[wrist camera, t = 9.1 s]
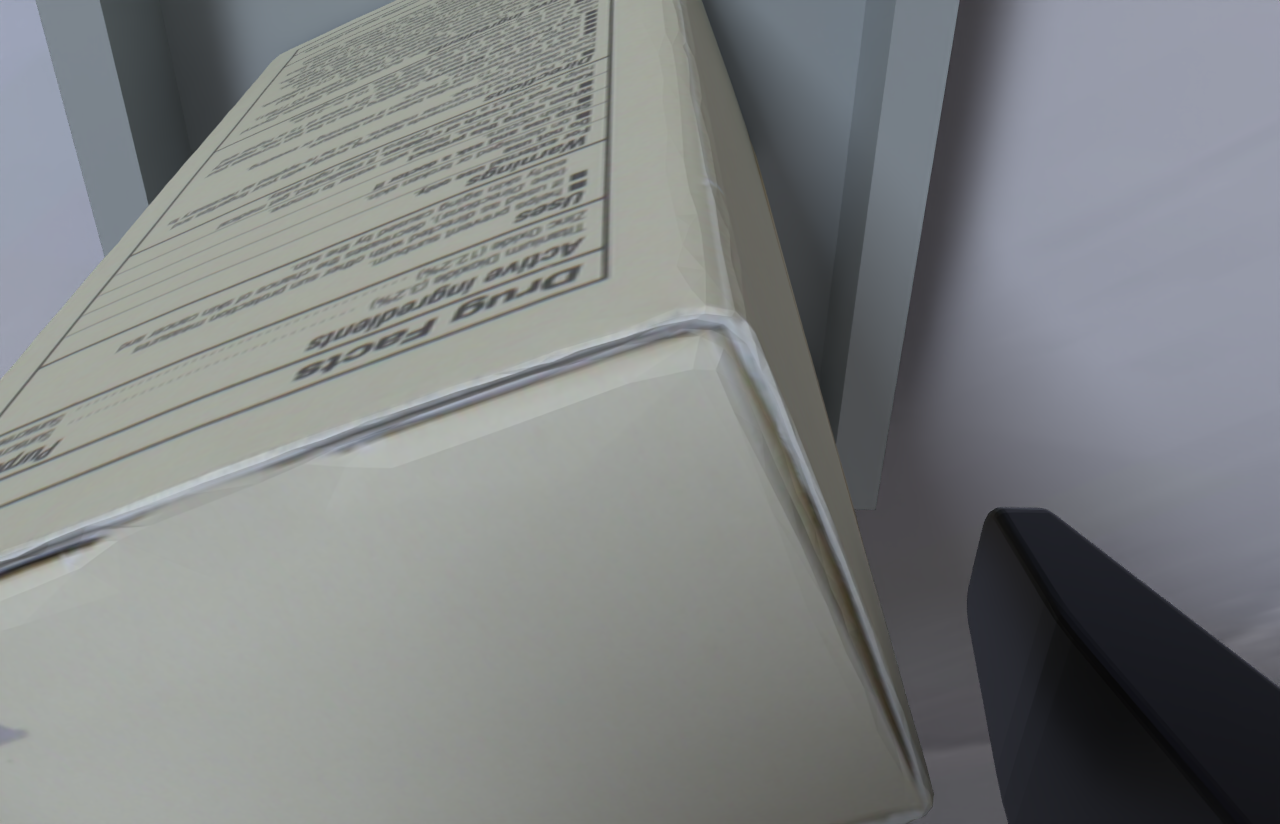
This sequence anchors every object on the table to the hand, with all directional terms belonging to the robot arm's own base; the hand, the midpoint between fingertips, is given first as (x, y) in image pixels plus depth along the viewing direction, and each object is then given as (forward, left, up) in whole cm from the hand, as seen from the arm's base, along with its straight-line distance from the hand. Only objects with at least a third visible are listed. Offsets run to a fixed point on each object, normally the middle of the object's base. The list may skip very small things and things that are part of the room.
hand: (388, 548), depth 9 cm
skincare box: (0, 0, -11) cm, 11 cm away
